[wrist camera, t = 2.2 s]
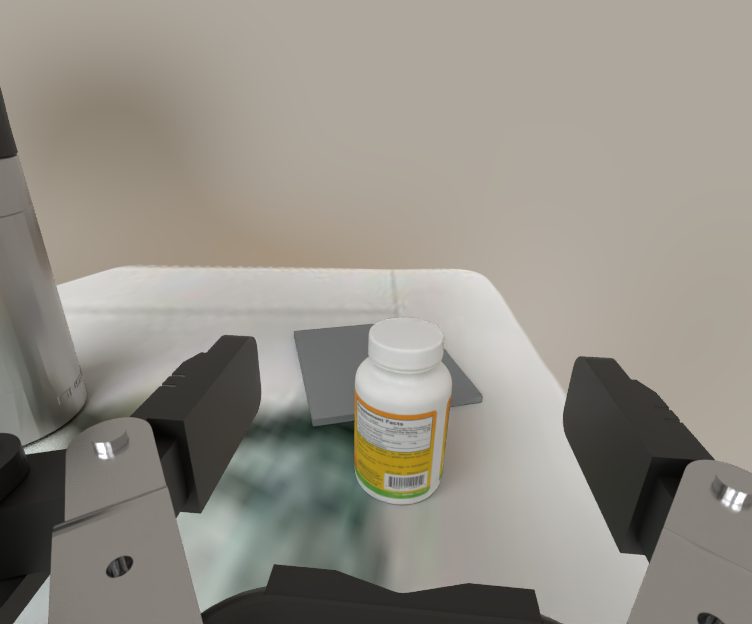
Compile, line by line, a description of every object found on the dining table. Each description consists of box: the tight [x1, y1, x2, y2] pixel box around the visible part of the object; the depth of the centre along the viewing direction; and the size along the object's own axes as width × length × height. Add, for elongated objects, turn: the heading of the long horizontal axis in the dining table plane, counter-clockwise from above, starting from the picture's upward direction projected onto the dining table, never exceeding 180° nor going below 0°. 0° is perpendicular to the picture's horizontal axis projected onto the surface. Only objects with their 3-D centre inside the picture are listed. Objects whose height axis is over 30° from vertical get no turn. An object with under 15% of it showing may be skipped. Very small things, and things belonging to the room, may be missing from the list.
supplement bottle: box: [354, 317, 452, 505], centre depth 25 cm, size 5×5×10 cm
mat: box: [294, 324, 482, 427], centre depth 39 cm, size 13×14×1 cm
